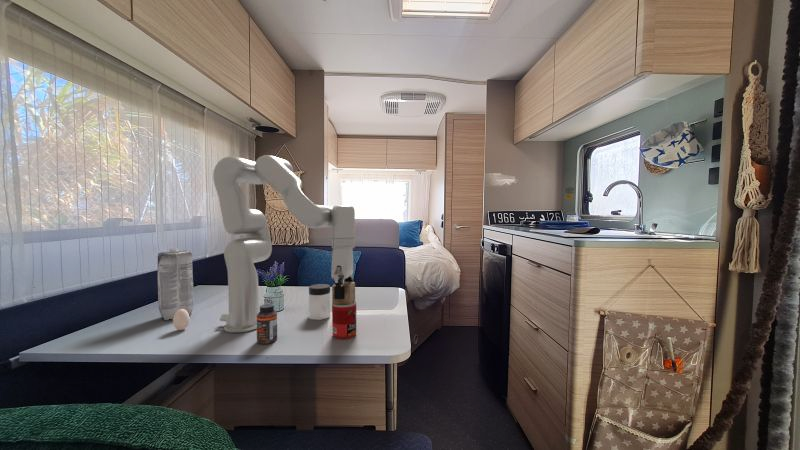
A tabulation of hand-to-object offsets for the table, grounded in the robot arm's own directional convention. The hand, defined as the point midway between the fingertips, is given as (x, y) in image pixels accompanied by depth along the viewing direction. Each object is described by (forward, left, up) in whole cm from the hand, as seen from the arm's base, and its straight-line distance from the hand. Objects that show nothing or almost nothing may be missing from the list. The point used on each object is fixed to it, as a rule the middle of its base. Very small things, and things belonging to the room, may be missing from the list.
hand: (344, 294), depth 99 cm
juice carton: (-72, +12, -14) cm, 74 cm away
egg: (-58, -1, -14) cm, 60 cm away
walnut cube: (0, 0, -2) cm, 2 cm away
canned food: (0, 0, -14) cm, 14 cm away
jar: (-15, +17, -14) cm, 26 cm away
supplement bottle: (-23, -7, -14) cm, 28 cm away
